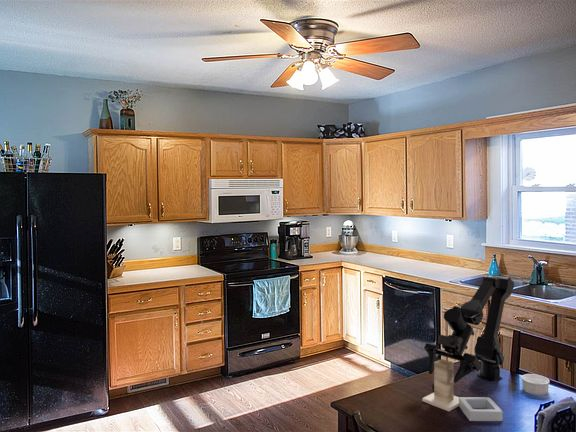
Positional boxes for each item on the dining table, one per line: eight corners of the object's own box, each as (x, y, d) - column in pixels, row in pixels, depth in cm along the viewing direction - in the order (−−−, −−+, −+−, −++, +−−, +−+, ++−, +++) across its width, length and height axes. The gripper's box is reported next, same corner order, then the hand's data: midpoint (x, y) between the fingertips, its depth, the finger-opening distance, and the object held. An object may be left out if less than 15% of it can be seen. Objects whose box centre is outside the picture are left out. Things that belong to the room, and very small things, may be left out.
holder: (458, 406, 152) (458, 397, 152) (489, 406, 152) (489, 397, 152) (469, 421, 142) (469, 411, 142) (502, 421, 142) (502, 411, 142)
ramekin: (543, 398, 158) (544, 385, 158) (516, 390, 164) (517, 378, 164) (553, 390, 164) (553, 378, 164) (526, 383, 170) (527, 371, 170)
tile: (438, 392, 163) (438, 390, 163) (465, 402, 155) (465, 399, 155) (422, 401, 156) (422, 398, 156) (449, 411, 149) (449, 408, 149)
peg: (441, 394, 159) (441, 359, 158) (453, 399, 155) (453, 362, 155) (434, 398, 156) (434, 362, 155) (446, 403, 152) (446, 365, 152)
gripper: (426, 319, 164) (407, 357, 158) (476, 331, 150) (458, 373, 143) (439, 337, 169) (421, 374, 163) (488, 350, 155) (471, 391, 149)
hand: (441, 377), depth 154 cm, fingers open, 9 cm apart
